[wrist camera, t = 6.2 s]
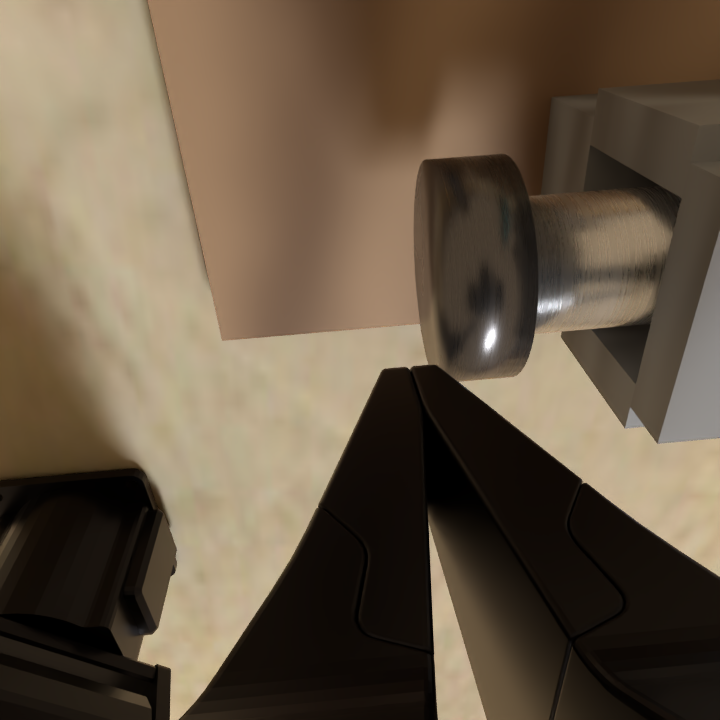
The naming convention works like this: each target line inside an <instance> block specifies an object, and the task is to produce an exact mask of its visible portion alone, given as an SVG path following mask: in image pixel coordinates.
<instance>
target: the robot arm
mask: <svg viewBox="0 0 720 720" xmlns="http://www.w3.org/2000/svg"><path fill="white" fill-rule="evenodd" d="M130 480H134V481H136V482H132V481H130ZM582 483H583V481H582V479H581V478H579V477H578V476H577V475H575V474H574V473H573V472H572V471H570V470H569V469H568V468H567V467H565V466H564V465H563V464H562V463H560V462H559V461H558V460H556V459H555V458H554V457H553V456H551V455H550V454H549V453H548V452H546V451H545V450H544V449H543V448H541V447H540V446H539V445H537V444H536V443H535V442H534V441H532V440H531V439H530V438H529V437H527V436H526V435H525V434H524V433H522V432H521V431H520V430H519V429H517V428H516V427H515V426H513V425H512V424H511V423H510V422H508V421H507V420H506V419H505V418H503V417H502V416H501V415H500V414H498V413H497V412H496V411H494V410H493V409H492V408H491V407H489V406H488V405H487V404H486V403H484V402H483V401H482V400H481V399H479V398H478V397H477V396H475V395H474V394H473V393H472V392H470V391H469V390H468V389H467V388H465V387H464V386H463V385H462V384H460V383H459V382H458V381H457V380H455V379H454V378H453V377H451V376H450V375H449V374H448V373H446V372H445V371H444V370H443V369H441V368H440V367H439V366H437V365H422V366H413V367H412V368H411V369H410V370H409V369H408V368H406V367H400V368H388V369H384V370H382V372H381V373H380V375H379V378H378V380H377V382H376V384H375V386H374V388H373V390H372V392H371V394H370V397H369V399H368V401H367V403H366V405H365V407H364V409H363V411H362V414H361V416H360V418H359V420H358V422H357V424H356V426H355V428H354V430H353V433H352V435H351V437H350V439H349V441H348V443H347V445H346V447H345V449H344V452H343V454H342V456H341V458H340V460H339V462H338V464H337V466H336V469H335V471H334V473H333V475H332V477H331V479H330V481H329V483H328V485H327V488H326V490H325V492H324V494H323V496H322V498H321V500H320V502H319V505H318V508H317V509H316V510H315V512H314V514H313V517H312V519H311V521H310V523H309V525H308V527H307V529H306V531H305V533H304V535H303V537H302V539H301V541H300V543H299V545H298V546H297V548H296V550H295V552H294V554H293V556H292V558H291V560H290V561H289V563H288V564H287V566H286V568H285V569H284V571H283V572H282V574H281V576H280V577H279V579H278V581H277V582H276V584H275V585H274V587H273V589H272V590H271V592H270V593H269V595H268V596H267V598H266V599H265V601H264V602H263V604H262V605H261V607H260V608H259V610H258V611H257V613H256V614H255V616H254V617H253V619H252V620H251V622H250V623H249V625H248V626H247V628H246V629H245V631H244V633H243V634H242V636H241V637H240V639H239V640H238V642H237V643H236V645H235V646H234V648H233V649H232V651H231V652H230V654H229V655H228V657H227V658H226V660H225V661H224V663H223V664H222V666H221V667H220V669H219V670H218V672H217V673H216V675H215V676H214V678H213V679H212V681H211V682H210V683H209V685H208V686H207V688H206V689H205V691H204V692H203V693H202V694H201V696H200V697H199V698H198V699H197V701H196V702H195V703H194V704H193V705H192V706H191V707H190V708H189V710H188V711H187V712H186V713H185V714H184V715H183V716H182V717H181V718H180V719H179V720H438V716H437V702H436V686H435V665H434V642H433V619H432V596H431V572H430V549H429V526H428V522H429V525H430V528H431V532H432V535H433V539H434V542H435V545H436V549H437V552H438V556H439V559H440V562H441V566H442V569H443V572H444V576H445V579H446V583H447V586H448V589H449V593H450V596H451V600H452V603H453V606H454V610H455V613H456V617H457V620H458V623H459V627H460V630H461V634H462V637H463V640H464V644H465V647H466V650H467V654H468V657H469V661H470V664H471V667H472V671H473V674H474V678H475V681H476V684H477V688H478V691H479V695H480V698H481V701H482V705H483V708H484V712H485V715H486V718H487V720H720V577H719V576H717V575H716V574H714V573H713V572H711V571H710V570H708V569H707V568H705V567H704V566H702V565H701V564H699V563H698V562H696V561H694V560H693V559H691V558H690V557H688V556H687V555H685V554H684V553H682V552H681V551H679V550H678V549H676V548H675V547H673V546H672V545H670V544H669V543H667V542H666V541H664V540H663V539H662V538H660V537H659V536H657V535H656V534H654V533H653V532H651V531H650V530H648V529H647V528H645V527H644V526H642V525H641V524H640V523H638V522H637V521H635V520H634V519H633V518H631V517H630V516H629V515H627V514H626V513H625V512H623V511H622V510H621V509H619V508H618V507H617V506H615V505H614V504H613V503H611V502H610V501H609V500H607V499H606V498H605V497H604V496H602V495H601V494H600V493H599V492H597V491H596V490H595V489H594V488H592V487H591V486H590V485H588V484H587V483H583V484H582ZM176 551H177V549H176V546H175V543H174V540H173V537H172V534H171V532H170V529H169V526H168V523H167V520H166V517H165V514H164V513H163V512H162V511H161V510H160V509H158V508H157V505H156V502H155V499H154V496H153V494H152V491H151V488H150V485H149V482H148V480H147V477H146V475H145V474H144V473H143V472H142V471H140V470H137V469H124V470H112V471H101V472H90V473H79V474H68V475H57V476H46V477H35V478H24V479H13V480H2V481H0V720H170V682H171V669H170V668H167V667H164V666H161V665H158V664H157V665H155V666H153V665H150V664H146V663H143V662H140V661H137V660H138V656H139V652H140V648H141V644H142V640H143V636H144V635H151V634H153V633H154V632H155V631H156V630H157V628H158V626H159V622H160V618H161V614H162V609H163V605H164V601H165V597H166V593H167V589H168V584H169V580H170V576H172V575H173V574H174V573H175V571H176V567H177V561H176V558H175V555H176Z"/></svg>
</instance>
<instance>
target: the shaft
mask: <svg viewBox="0 0 720 720" xmlns="http://www.w3.org/2000/svg"><path fill="white" fill-rule="evenodd" d="M681 199H682V198H680V197H679V196H677V195H675V194H673V193H672V192H670V191H668V190H667V189H665V188H663V187H661V186H649V187H636V188H624V189H611V190H599V191H586V192H574V193H561V194H549V195H536V196H528V192H527V189H526V186H525V183H524V180H523V177H522V175H521V173H520V170H519V168H518V167H517V165H516V163H515V162H514V161H513V160H512V158H511V157H509V156H508V155H506V154H490V155H477V156H464V157H451V158H438V159H426V160H423V161H422V163H421V165H420V167H419V171H418V175H417V181H416V188H415V199H414V264H415V280H416V292H417V302H418V311H419V319H420V326H421V332H422V338H423V343H424V348H425V353H426V357H427V361H428V364H429V365H437V366H439V367H440V368H441V369H443V370H444V371H445V372H446V373H448V374H449V375H450V376H451V377H453V378H454V379H455V380H457V381H458V382H459V381H471V380H482V379H493V378H505V377H514V376H516V375H518V374H519V373H520V372H521V371H522V369H523V368H524V366H525V364H526V362H527V359H528V357H529V354H530V351H531V347H532V343H533V338H534V334H539V333H550V332H562V331H574V330H585V329H597V328H608V327H620V326H632V325H643V324H651V321H652V317H653V312H654V308H655V304H656V300H657V296H658V292H659V288H660V284H661V280H662V276H663V272H664V268H665V264H666V260H667V256H668V251H669V247H670V243H671V239H672V235H673V231H674V227H675V223H676V219H677V215H678V211H679V207H680V203H681Z"/></svg>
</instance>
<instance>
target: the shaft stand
mask: <svg viewBox="0 0 720 720" xmlns="http://www.w3.org/2000/svg"><path fill="white" fill-rule="evenodd" d="M147 1H148V5H149V10H150V14H151V19H152V23H153V28H154V33H155V37H156V42H157V46H158V51H159V55H160V60H161V64H162V69H163V73H164V78H165V83H166V87H167V92H168V96H169V101H170V105H171V110H172V114H173V119H174V123H175V128H176V133H177V137H178V142H179V146H180V151H181V155H182V160H183V164H184V169H185V173H186V178H187V183H188V187H189V192H190V196H191V201H192V205H193V210H194V214H195V219H196V223H197V228H198V233H199V237H200V242H201V246H202V251H203V255H204V260H205V264H206V269H207V273H208V278H209V283H210V287H211V292H212V296H213V301H214V305H215V310H216V314H217V319H218V323H219V328H220V333H221V337H222V341H224V340H235V339H247V338H259V337H271V336H282V335H294V334H306V333H317V332H329V331H341V330H353V329H364V328H376V327H388V326H399V325H411V324H420V319H419V311H418V302H417V292H416V280H415V264H414V199H415V188H416V181H417V175H418V171H419V167H420V165H421V163H422V161H423V160H426V159H438V158H451V157H464V156H477V155H490V154H506V155H508V156H509V157H511V158H512V160H513V161H514V162H515V163H516V165H517V167H518V168H519V170H520V173H521V175H522V177H523V180H524V183H525V186H526V189H527V192H528V196H536V195H549V194H561V193H574V192H586V191H599V190H611V189H624V188H636V187H649V186H661V187H663V188H665V189H667V190H668V191H670V192H672V193H673V194H675V195H677V196H679V197H680V198H682V199H681V203H680V207H679V211H678V215H677V219H676V223H675V227H674V231H673V235H672V239H671V243H670V247H669V251H668V256H667V260H666V264H665V268H664V272H663V276H662V280H661V284H660V288H659V292H658V296H657V300H656V304H655V308H654V312H653V317H652V321H651V324H643V325H632V326H620V327H608V328H597V329H585V330H574V331H562V334H561V338H562V339H563V341H564V342H565V344H566V345H567V346H568V348H569V349H570V351H571V352H572V354H573V355H574V356H575V358H576V359H577V361H578V362H579V364H580V365H581V366H582V368H583V369H584V371H585V372H586V374H587V375H588V376H589V378H590V379H591V381H592V382H593V384H594V385H595V386H596V388H597V389H598V391H599V392H600V393H601V395H602V396H603V398H604V399H605V401H606V402H607V403H608V405H609V406H610V408H611V409H612V411H613V412H614V413H615V415H616V416H617V418H618V419H619V421H620V422H621V423H622V425H623V426H624V428H635V427H645V428H646V429H647V430H648V432H649V433H650V434H651V436H652V437H653V438H654V440H655V441H656V442H657V444H660V443H671V442H682V441H693V440H704V439H715V438H720V0H147Z"/></svg>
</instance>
